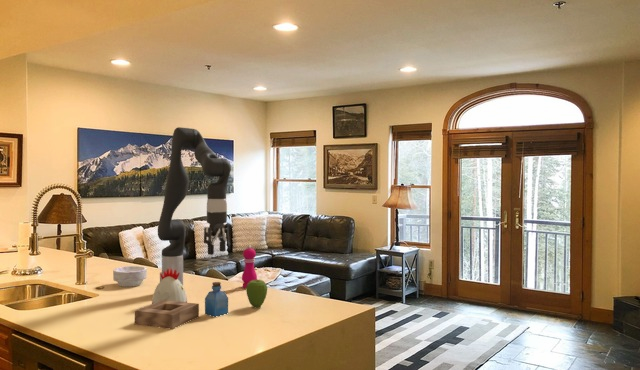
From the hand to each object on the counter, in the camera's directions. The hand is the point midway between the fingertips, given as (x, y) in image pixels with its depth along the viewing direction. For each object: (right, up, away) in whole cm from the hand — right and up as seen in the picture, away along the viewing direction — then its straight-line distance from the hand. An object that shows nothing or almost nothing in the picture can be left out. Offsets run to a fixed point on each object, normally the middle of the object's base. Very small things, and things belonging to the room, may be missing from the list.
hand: (216, 252), depth 192 cm
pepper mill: (+6, -23, +47) cm, 53 cm away
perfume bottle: (0, -24, 0) cm, 24 cm away
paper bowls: (-52, -23, +51) cm, 76 cm away
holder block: (-16, -24, -9) cm, 30 cm away
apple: (+14, -24, +10) cm, 29 cm away
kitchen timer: (-22, -23, +13) cm, 35 cm away
